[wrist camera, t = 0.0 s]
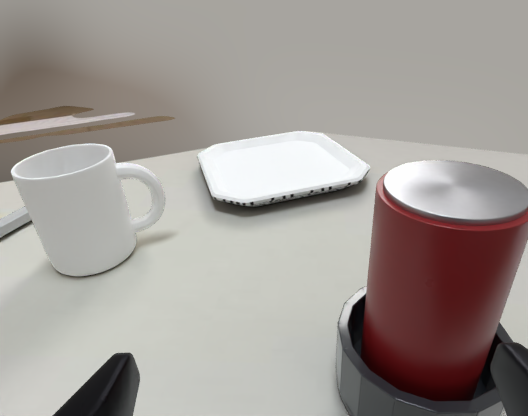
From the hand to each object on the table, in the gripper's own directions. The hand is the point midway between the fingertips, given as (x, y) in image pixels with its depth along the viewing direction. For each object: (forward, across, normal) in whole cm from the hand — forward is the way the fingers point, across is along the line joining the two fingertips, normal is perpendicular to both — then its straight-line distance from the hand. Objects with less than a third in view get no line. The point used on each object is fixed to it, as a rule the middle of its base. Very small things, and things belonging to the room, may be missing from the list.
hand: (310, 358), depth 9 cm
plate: (+42, +1, +14) cm, 44 cm away
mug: (+25, +18, +14) cm, 33 cm away
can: (+9, -7, +13) cm, 17 cm away
